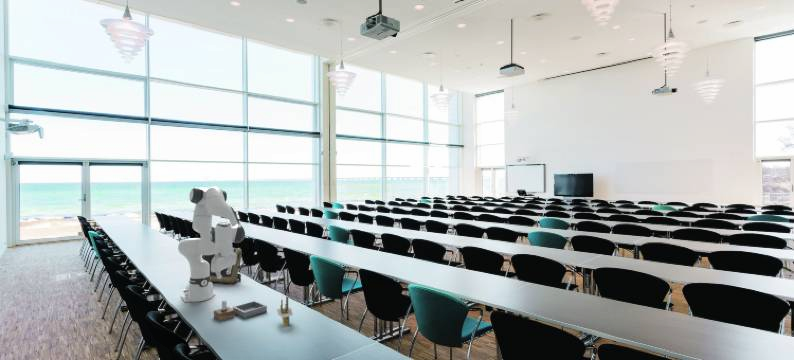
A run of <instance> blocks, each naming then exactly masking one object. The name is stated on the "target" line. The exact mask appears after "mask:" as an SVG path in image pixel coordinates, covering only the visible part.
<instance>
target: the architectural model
mask: <svg viewBox="0 0 794 360" xmlns="http://www.w3.org/2000/svg"><path fill="white" fill-rule="evenodd" d="M283 305H285V307H284V306H283ZM276 312H277V315H278V317H282V325H283V327H290V317H292V316H293V310H292V308H290V307H289V296H286V297H285V304H284V302H283V299H281V301H280V307H279V308H277V309H276Z"/></svg>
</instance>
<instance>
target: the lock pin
mask: <svg viewBox="0 0 794 360" xmlns="http://www.w3.org/2000/svg"><path fill="white" fill-rule="evenodd" d="M227 307H228V306H227V300H221V309H222V312H224V311H227Z"/></svg>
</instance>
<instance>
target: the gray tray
mask: <svg viewBox="0 0 794 360" xmlns="http://www.w3.org/2000/svg"><path fill="white" fill-rule="evenodd" d="M232 309H234V310H235V316H238V317H240V318H242V319H243V320H244V319H245V320H246V319H249V318H251V317H252V318H253V317H255V316H258V315H262V314H265V313H267V312H268V310H267V309H268V306H267V305H266V304H263V303H261V302H258V301H256V300H253V301H249V302H245V303H241V304H237V305H234V306H232Z"/></svg>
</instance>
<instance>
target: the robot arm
mask: <svg viewBox="0 0 794 360" xmlns="http://www.w3.org/2000/svg"><path fill="white" fill-rule="evenodd" d="M227 198H228V195H227V192H226V191H225V190H224V189H221V188H219V187H218V186H211V187H200V186H199V187H197V186H196V187H193V188H192V189H191V190H190V192H189V201H190V202H191V203H193V204H195V206H194V209H193V217H192V226H191V227H192V229H193V230H194V231H195V232H197V233H198V234H199V235H200V237H193V238H191V237H190V238H189V237H188V238H186V239H181V240H180V242H179V243H178V246H177V249H178V253H180V255H182V256H183V257H184V258H185V259H186V261H187V262H188V264H189V271H190V277H189V280H188V282H189V283H188V284H187V285H186V286H185V288H184V289H183V291H182V292H183V294H181V296H180V298H181V299H182V300H183V301H184V303H188V302H189V303H190V302H192V303H193V302H203V301H208V300H211V299H212V298H213V297H214V296H216V292H214V285H213V283H214V282H210V281H211V276H210V265H209V263H208V262H207V261H205V260H203V259H202V255H213V254H215V255H214V257H213V259H212V262H211V272H216V275H217V279H221V278H222V275H221V274H220V273H221V270H223V269H226V268H228V269H227V271H226V274H231V269H232V265H235V264H236V252H237V248H236V247H233V244H237V243H238V244H241V242H242V241H244V240H245V238H246V232H245V228H244V227H243V225H242V224H241V221H240V220H239V218H238V215H237V214H236V211H235V209H234V208H233V207H232V206H230V205H229V204H228V203H227ZM213 216H215V217H221V218H225V219H227V220H229V222H227V221H224V222H223V221H221V222H218V223H217V224H215V227H214V228H213V226H212V225H213V224H212V223H213Z"/></svg>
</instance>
